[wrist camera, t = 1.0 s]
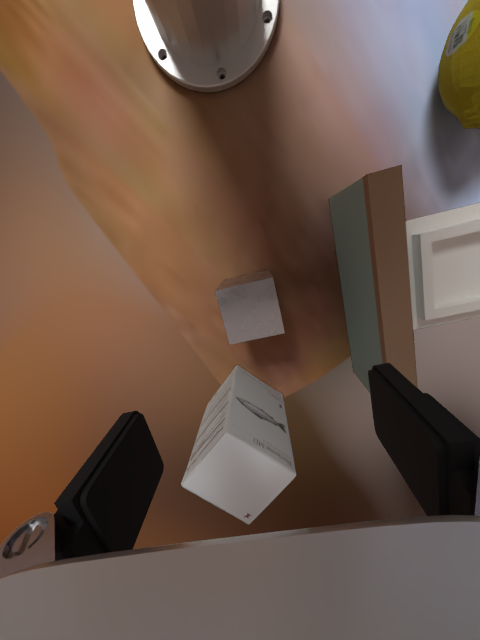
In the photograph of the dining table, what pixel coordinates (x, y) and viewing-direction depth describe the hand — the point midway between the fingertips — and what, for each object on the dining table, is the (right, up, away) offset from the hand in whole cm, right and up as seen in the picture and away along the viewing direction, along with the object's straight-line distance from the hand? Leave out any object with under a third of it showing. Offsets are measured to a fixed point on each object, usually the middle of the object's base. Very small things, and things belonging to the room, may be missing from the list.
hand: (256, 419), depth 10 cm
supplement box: (0, -6, +23) cm, 24 cm away
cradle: (+23, +10, +17) cm, 30 cm away
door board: (+12, +7, +19) cm, 23 cm away
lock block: (+1, +7, +20) cm, 21 cm away
